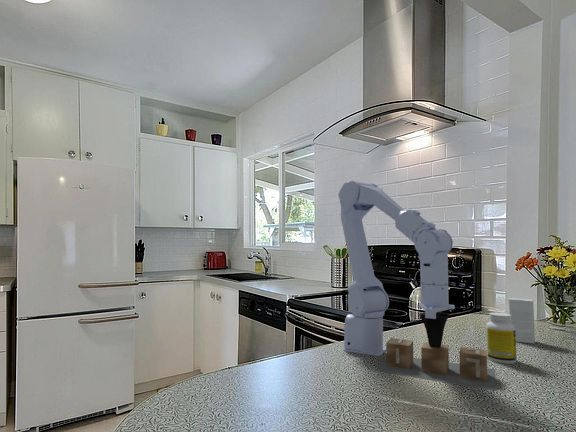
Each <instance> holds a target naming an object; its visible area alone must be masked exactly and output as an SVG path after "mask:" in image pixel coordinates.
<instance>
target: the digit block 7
mask: <svg viewBox="0 0 576 432" xmlns="http://www.w3.org/2000/svg"><path fill="white" fill-rule="evenodd" d="M458 354H459V357H458V358H459V364H460V377H461V378H467V379H473V380H479V381H486V382H487V368H488V358H487V349H483V348H482V349H481V348H480V349H479V348H474V347H473V348H472V347H466V346H465V347H464V346H460V349H459V353H458Z"/></svg>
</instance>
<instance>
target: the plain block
mask: <svg viewBox="0 0 576 432" xmlns="http://www.w3.org/2000/svg"><path fill="white" fill-rule="evenodd" d="M420 349H421V353H420V355H421V358H420V359H421V366H422V371H423V372H429V373H436V374H442V375H447V373H448V370H449V363H450V359H449V358H450V357H449V355H450V354H449V351H450V350H449V344H442V343H441V347H440V348H438V347H430V345H429V342H426V341H425V342H424V343H423V344H422V346H421V348H420Z"/></svg>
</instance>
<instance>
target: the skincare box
mask: <svg viewBox="0 0 576 432" xmlns="http://www.w3.org/2000/svg"><path fill="white" fill-rule="evenodd" d="M508 305H509V314H510V315H511V316H512V320H511V324H512V325H514V326H515V330H516V343H525V344H533V345H534V344H535V343H536V336H535V335H536V333H535V330H536V329H535V315H534V314H535V312H534V311H535V310H534V299H530V298H520V297H519V298H516V297H509V299H508Z"/></svg>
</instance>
